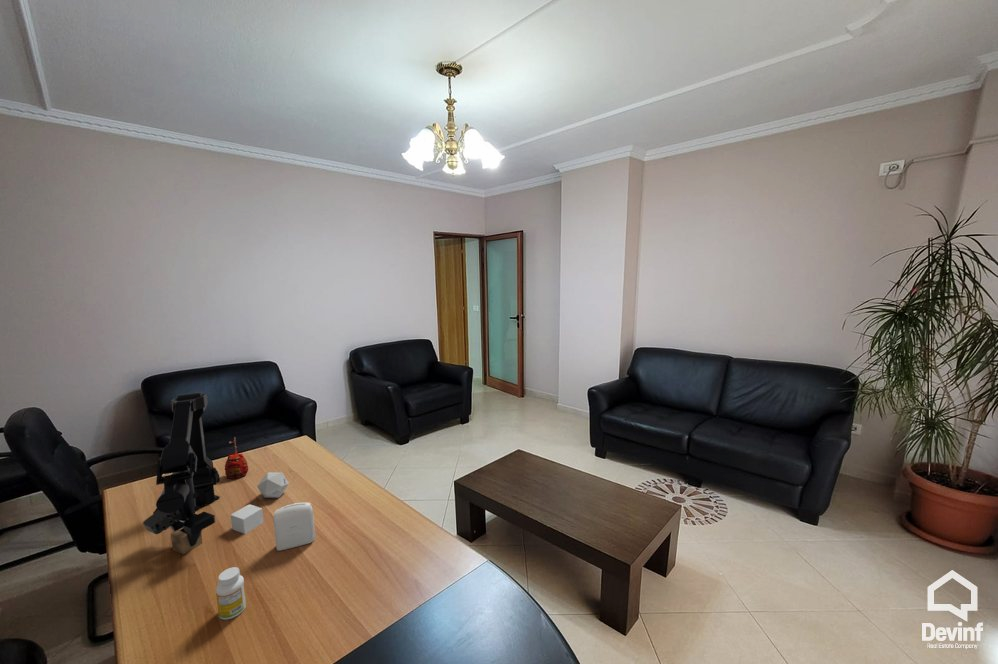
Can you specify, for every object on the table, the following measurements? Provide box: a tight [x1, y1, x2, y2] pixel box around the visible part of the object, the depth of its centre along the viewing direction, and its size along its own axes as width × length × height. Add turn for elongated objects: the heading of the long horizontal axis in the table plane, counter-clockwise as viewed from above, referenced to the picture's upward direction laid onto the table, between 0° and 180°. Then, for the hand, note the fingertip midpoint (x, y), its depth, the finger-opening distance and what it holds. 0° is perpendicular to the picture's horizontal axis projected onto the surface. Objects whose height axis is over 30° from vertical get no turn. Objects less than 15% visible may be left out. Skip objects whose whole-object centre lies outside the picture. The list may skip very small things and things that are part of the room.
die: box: [256, 471, 290, 499], centre depth 136 cm, size 8×9×10 cm
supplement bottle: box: [215, 566, 247, 620], centre depth 89 cm, size 5×5×10 cm
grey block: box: [230, 503, 265, 535], centre depth 119 cm, size 6×6×5 cm
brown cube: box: [170, 528, 204, 555], centre depth 110 cm, size 5×5×5 cm
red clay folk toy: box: [224, 436, 249, 480], centre depth 149 cm, size 8×7×15 cm
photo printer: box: [273, 502, 316, 552], centre depth 111 cm, size 10×4×12 cm, turn 114°
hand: (187, 543), depth 110 cm, fingers closed on brown cube, 5 cm apart
